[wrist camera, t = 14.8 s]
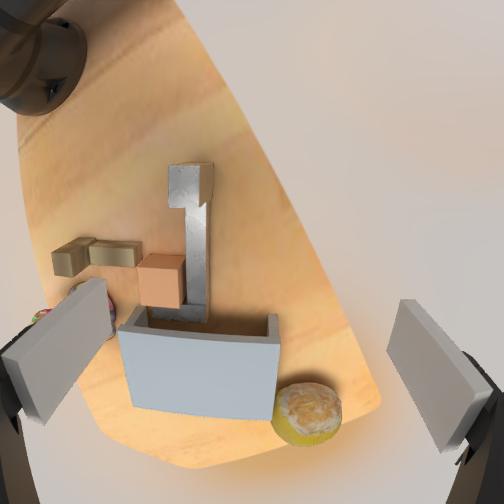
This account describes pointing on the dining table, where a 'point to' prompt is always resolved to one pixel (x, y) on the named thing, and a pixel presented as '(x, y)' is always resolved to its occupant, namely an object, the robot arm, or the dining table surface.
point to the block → (162, 281)
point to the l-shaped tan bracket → (94, 255)
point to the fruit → (306, 414)
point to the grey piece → (192, 238)
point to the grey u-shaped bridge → (200, 370)
